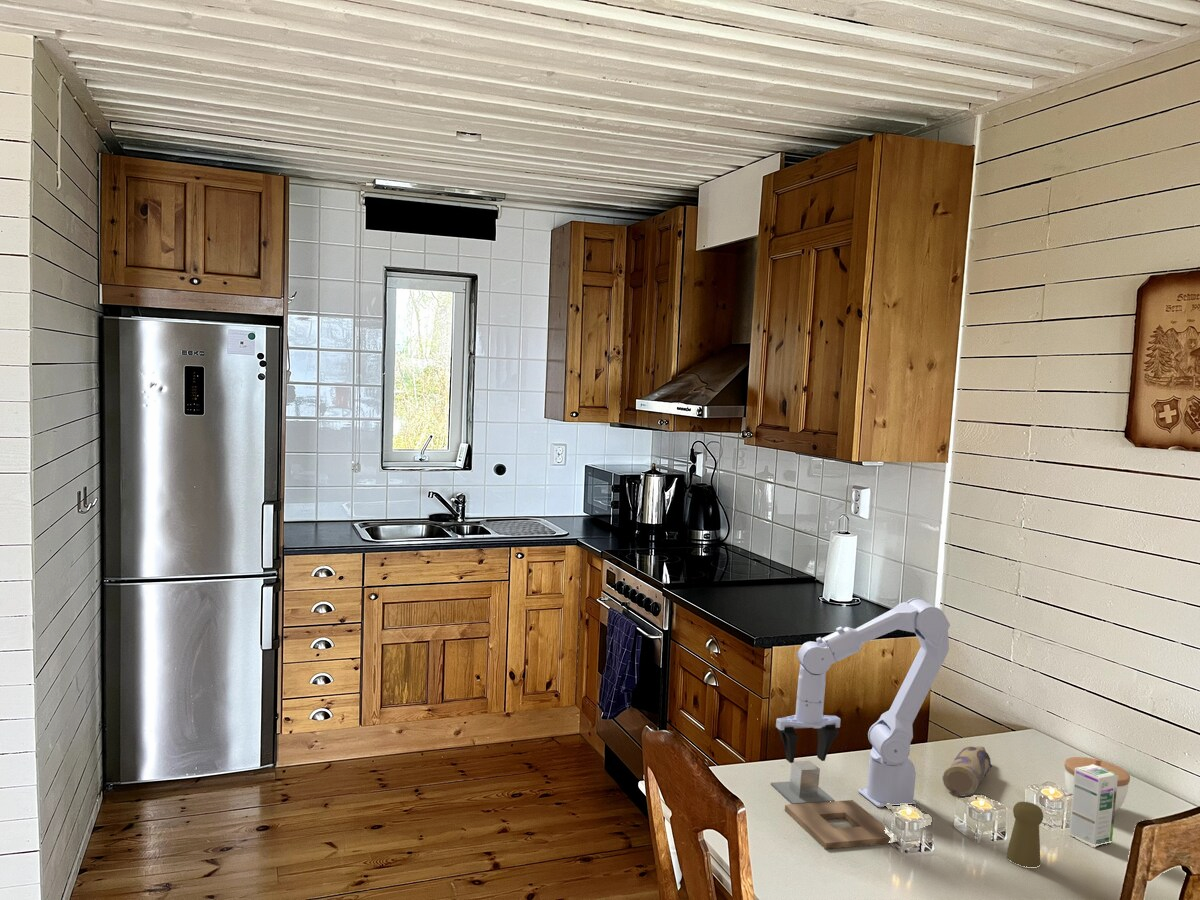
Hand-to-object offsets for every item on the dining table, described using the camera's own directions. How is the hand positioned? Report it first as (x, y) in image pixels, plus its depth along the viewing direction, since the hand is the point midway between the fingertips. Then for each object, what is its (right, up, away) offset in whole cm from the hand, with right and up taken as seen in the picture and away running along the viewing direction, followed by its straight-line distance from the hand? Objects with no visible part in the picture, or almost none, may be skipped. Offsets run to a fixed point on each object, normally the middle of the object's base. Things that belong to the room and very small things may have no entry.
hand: (805, 760), depth 195 cm
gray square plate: (-1, -7, 0) cm, 7 cm away
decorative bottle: (+42, -10, +15) cm, 46 cm away
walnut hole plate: (+4, -9, -14) cm, 17 cm away
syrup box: (+55, -12, -12) cm, 58 cm away
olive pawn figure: (+37, -12, -23) cm, 45 cm away
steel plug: (0, -7, 0) cm, 7 cm away
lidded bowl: (+64, -12, +4) cm, 65 cm away
